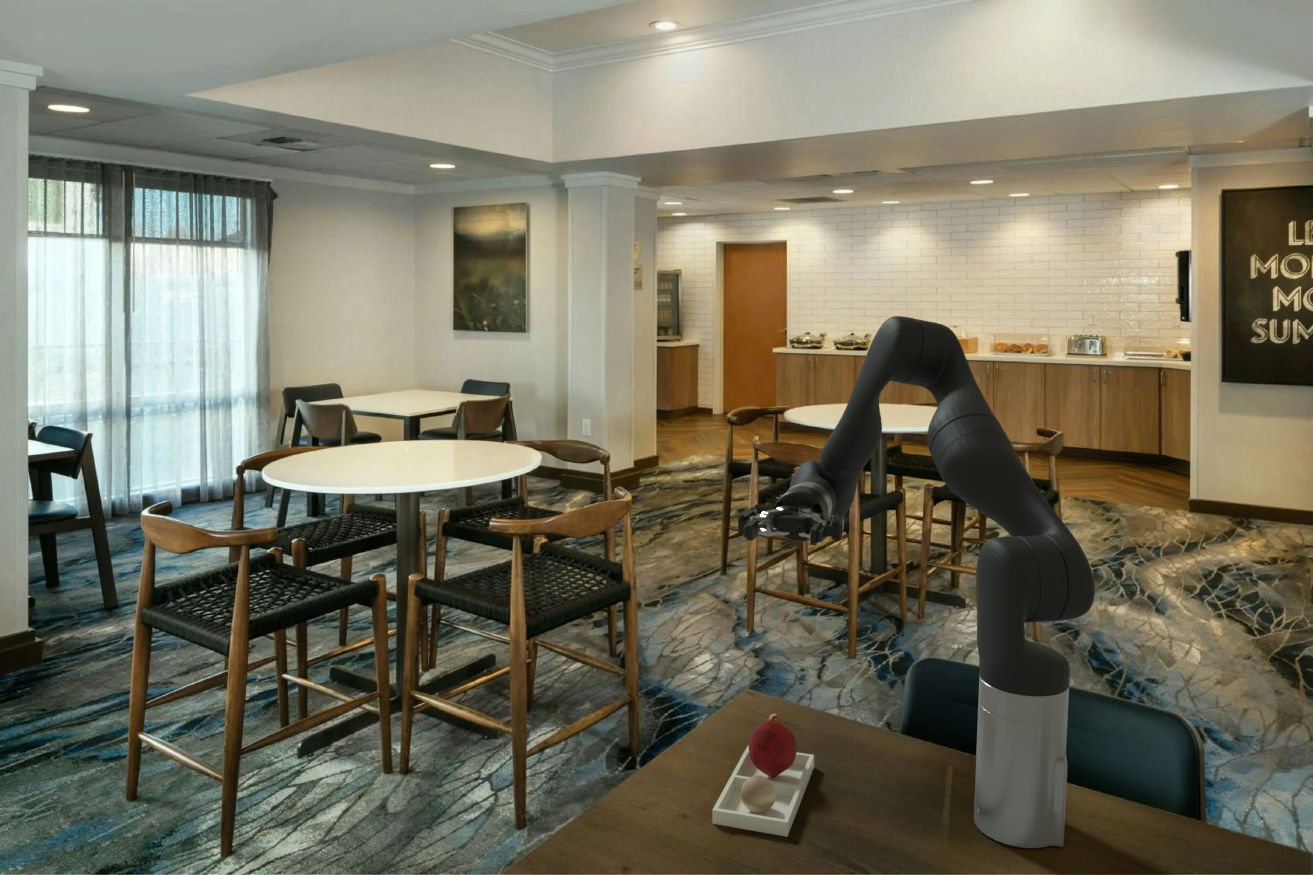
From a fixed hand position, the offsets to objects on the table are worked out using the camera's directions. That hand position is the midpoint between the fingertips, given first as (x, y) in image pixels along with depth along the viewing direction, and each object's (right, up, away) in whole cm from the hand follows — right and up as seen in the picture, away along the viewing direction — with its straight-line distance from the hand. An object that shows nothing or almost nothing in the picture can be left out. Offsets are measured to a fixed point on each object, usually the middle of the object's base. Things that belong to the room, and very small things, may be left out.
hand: (780, 535), depth 126 cm
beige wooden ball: (-5, -30, -17) cm, 34 cm away
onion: (-2, -29, -9) cm, 30 cm away
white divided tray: (-3, -30, -13) cm, 33 cm away
